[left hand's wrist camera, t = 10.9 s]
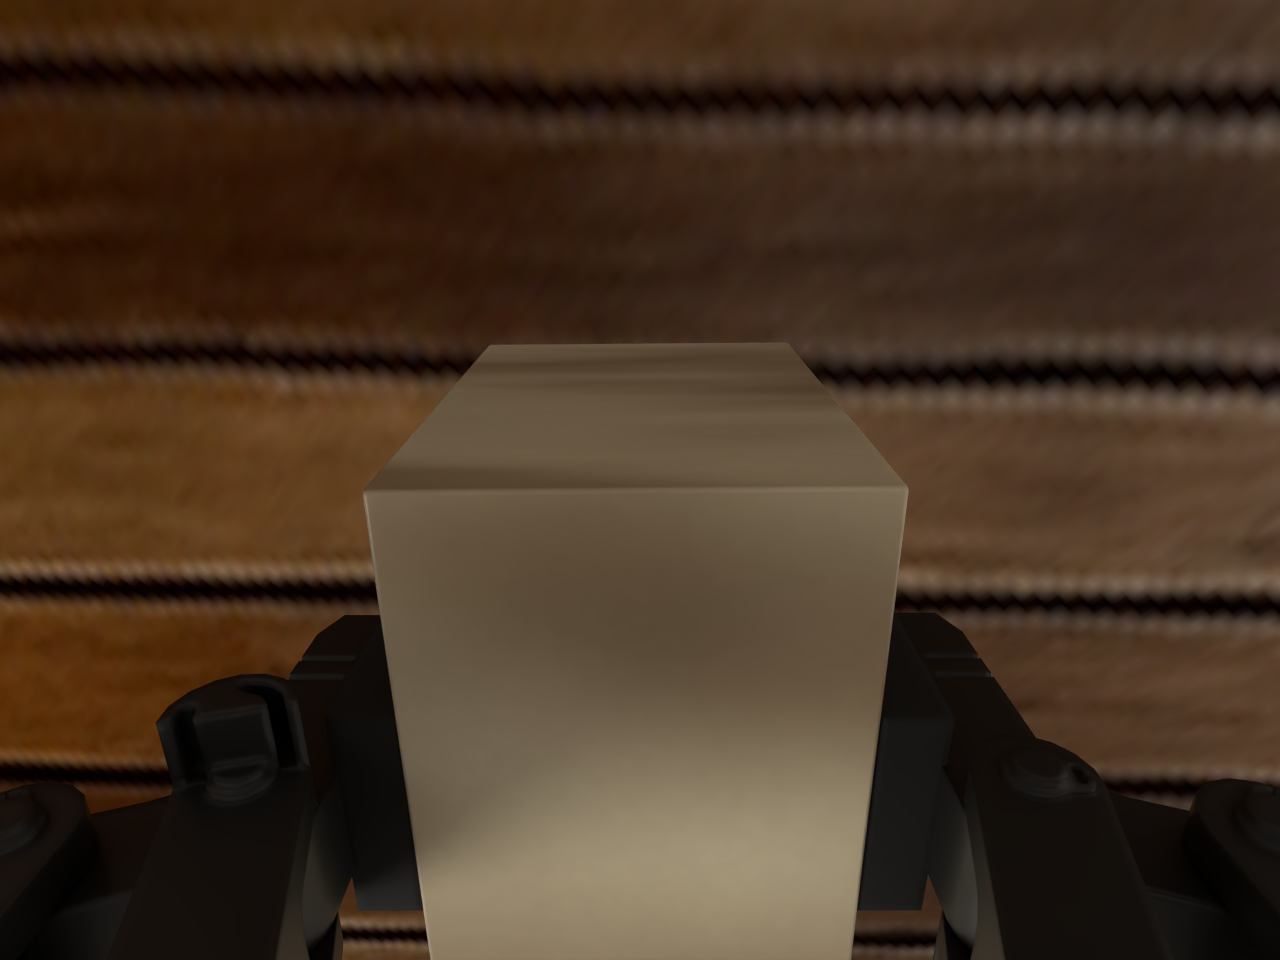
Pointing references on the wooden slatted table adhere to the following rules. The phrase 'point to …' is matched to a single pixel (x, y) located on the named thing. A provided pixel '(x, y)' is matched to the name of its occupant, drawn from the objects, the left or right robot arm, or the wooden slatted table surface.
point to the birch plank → (638, 652)
